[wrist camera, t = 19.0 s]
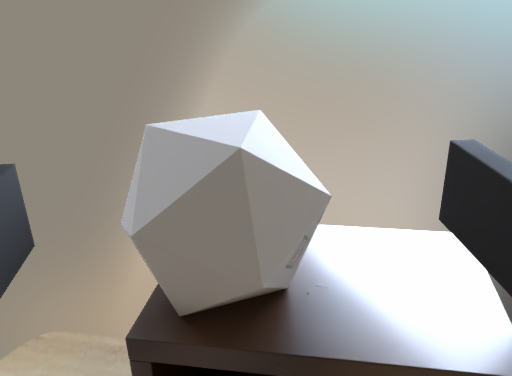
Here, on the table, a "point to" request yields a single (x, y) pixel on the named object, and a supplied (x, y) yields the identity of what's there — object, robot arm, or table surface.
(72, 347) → the table surface
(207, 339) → the shelf
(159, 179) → the die
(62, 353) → the table surface
